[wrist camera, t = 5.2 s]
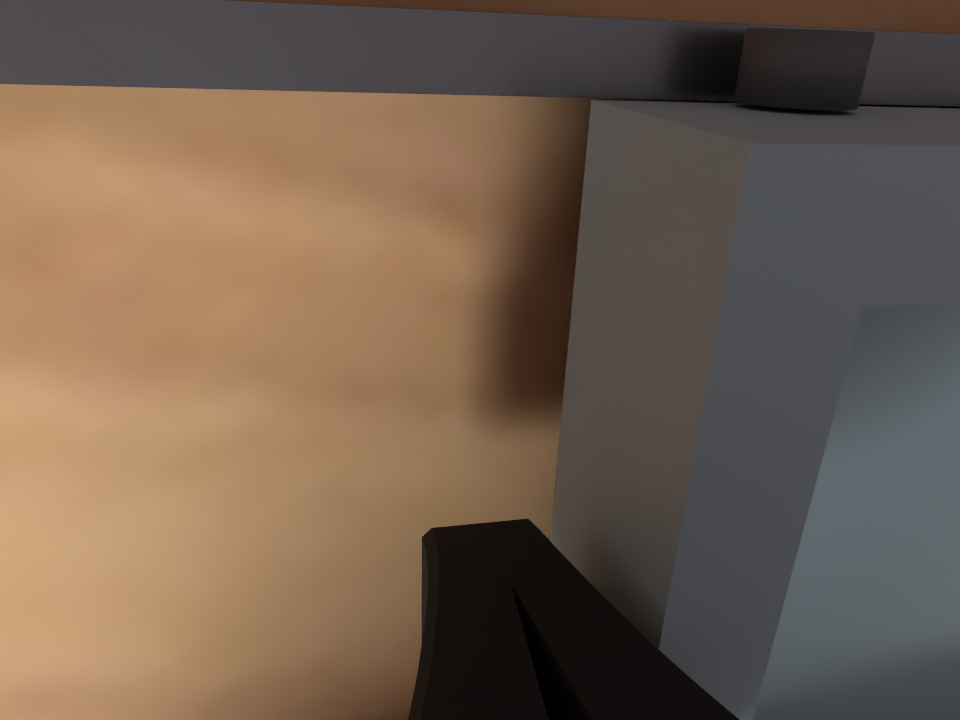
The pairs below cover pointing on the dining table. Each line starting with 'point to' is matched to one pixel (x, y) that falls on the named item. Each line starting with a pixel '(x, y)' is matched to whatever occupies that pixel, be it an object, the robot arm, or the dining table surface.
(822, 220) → the cart
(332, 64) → the rail
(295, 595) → the dining table surface
